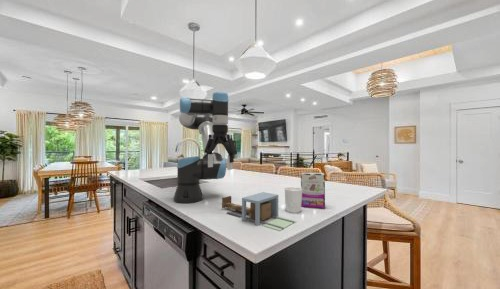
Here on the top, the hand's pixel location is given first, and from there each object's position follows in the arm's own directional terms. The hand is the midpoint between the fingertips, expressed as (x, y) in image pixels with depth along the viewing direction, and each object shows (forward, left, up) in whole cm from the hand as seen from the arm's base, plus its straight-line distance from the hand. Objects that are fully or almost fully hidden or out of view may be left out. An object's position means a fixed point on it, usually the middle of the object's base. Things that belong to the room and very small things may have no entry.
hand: (219, 168), depth 105 cm
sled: (+17, -1, -18) cm, 25 cm away
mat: (+35, -1, -19) cm, 40 cm away
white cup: (+31, +17, -19) cm, 40 cm away
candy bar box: (+35, +29, -19) cm, 49 cm away
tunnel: (+26, -1, -19) cm, 32 cm away
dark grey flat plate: (+15, -1, -19) cm, 24 cm away
